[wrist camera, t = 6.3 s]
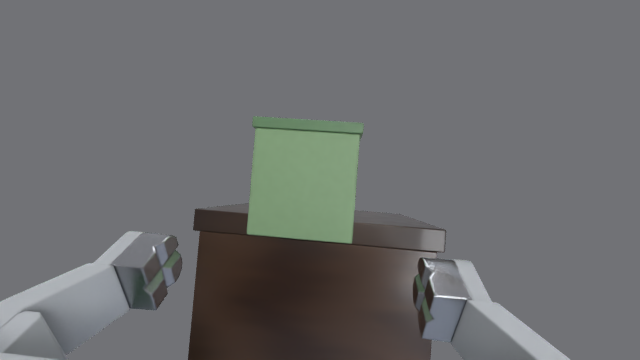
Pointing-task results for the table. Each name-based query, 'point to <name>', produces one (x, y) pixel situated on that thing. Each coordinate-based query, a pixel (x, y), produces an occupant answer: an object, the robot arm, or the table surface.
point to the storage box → (304, 179)
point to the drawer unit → (309, 290)
